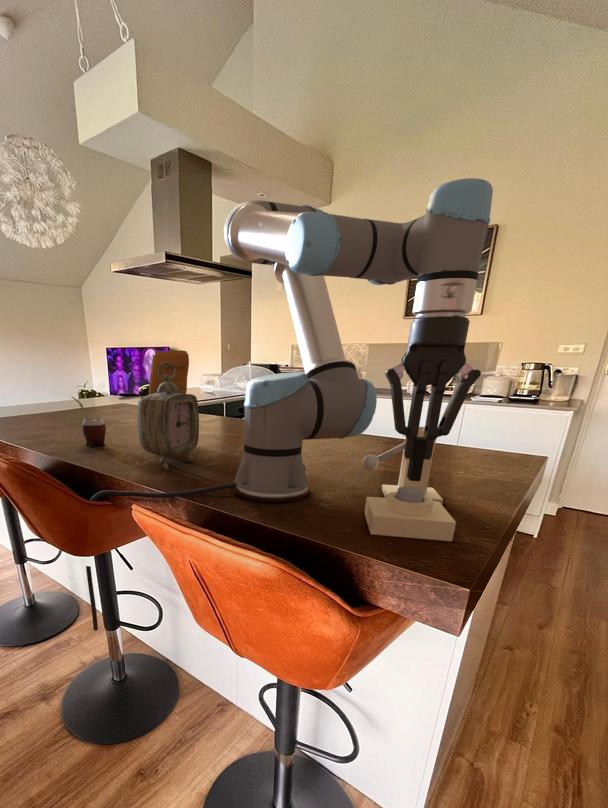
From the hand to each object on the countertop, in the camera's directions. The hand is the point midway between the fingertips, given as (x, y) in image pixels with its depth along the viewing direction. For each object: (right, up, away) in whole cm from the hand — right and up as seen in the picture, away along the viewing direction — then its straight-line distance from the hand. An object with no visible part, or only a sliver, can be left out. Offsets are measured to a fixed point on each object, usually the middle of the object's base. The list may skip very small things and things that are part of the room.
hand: (413, 478), depth 67 cm
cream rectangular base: (0, -8, +3) cm, 8 cm away
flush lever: (+4, +5, +16) cm, 17 cm away
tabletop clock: (-44, +7, +42) cm, 61 cm away
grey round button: (0, -3, +1) cm, 4 cm away
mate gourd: (-71, +15, +64) cm, 97 cm away
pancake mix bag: (-47, +14, +62) cm, 79 cm away
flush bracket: (+7, -2, +18) cm, 19 cm away
